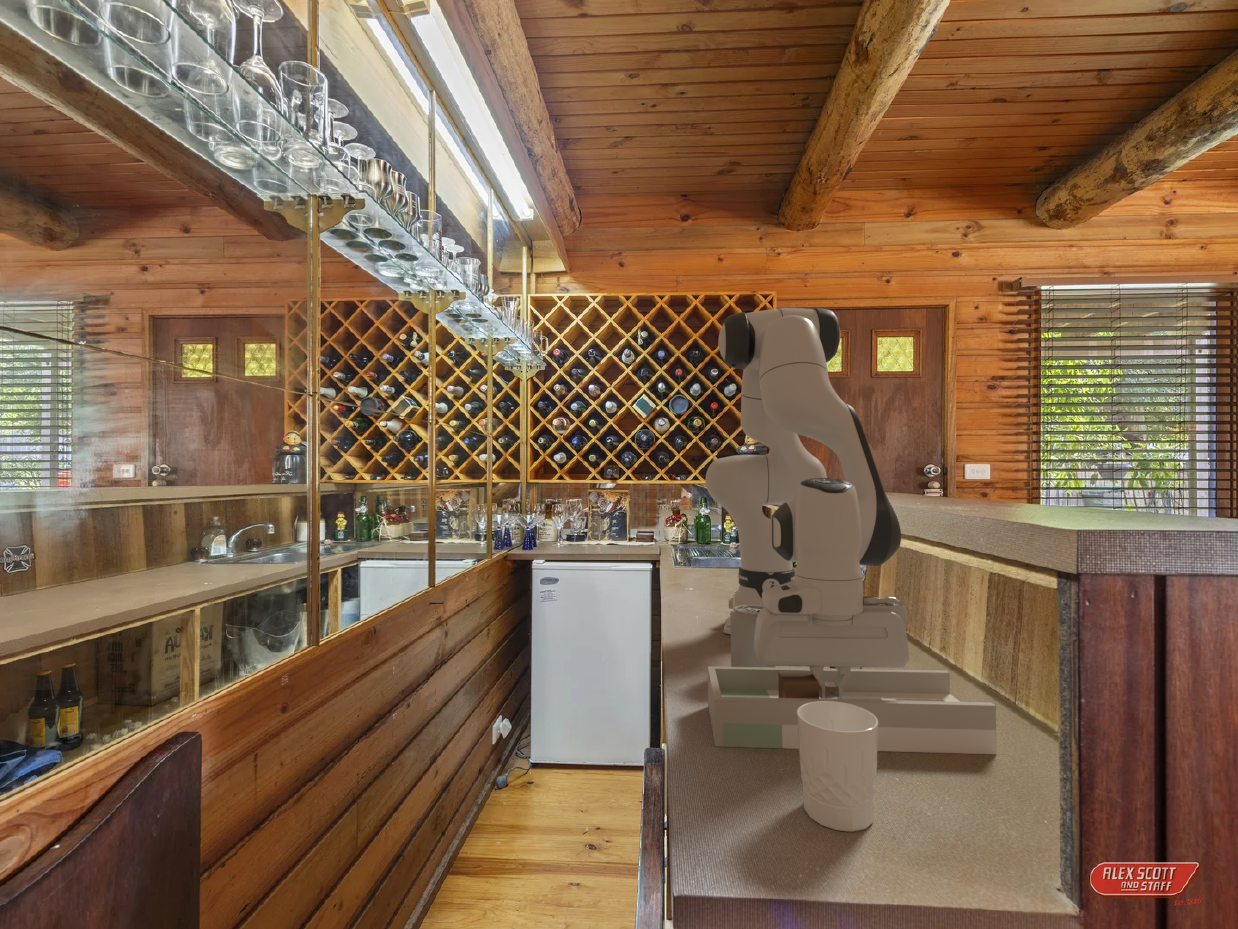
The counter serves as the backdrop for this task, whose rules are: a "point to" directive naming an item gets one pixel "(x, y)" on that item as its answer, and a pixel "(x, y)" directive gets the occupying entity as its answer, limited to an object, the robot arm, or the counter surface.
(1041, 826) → the counter surface
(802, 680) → the walnut block
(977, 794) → the counter surface
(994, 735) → the tray
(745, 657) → the can
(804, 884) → the counter surface
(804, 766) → the white cup
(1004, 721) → the counter surface
